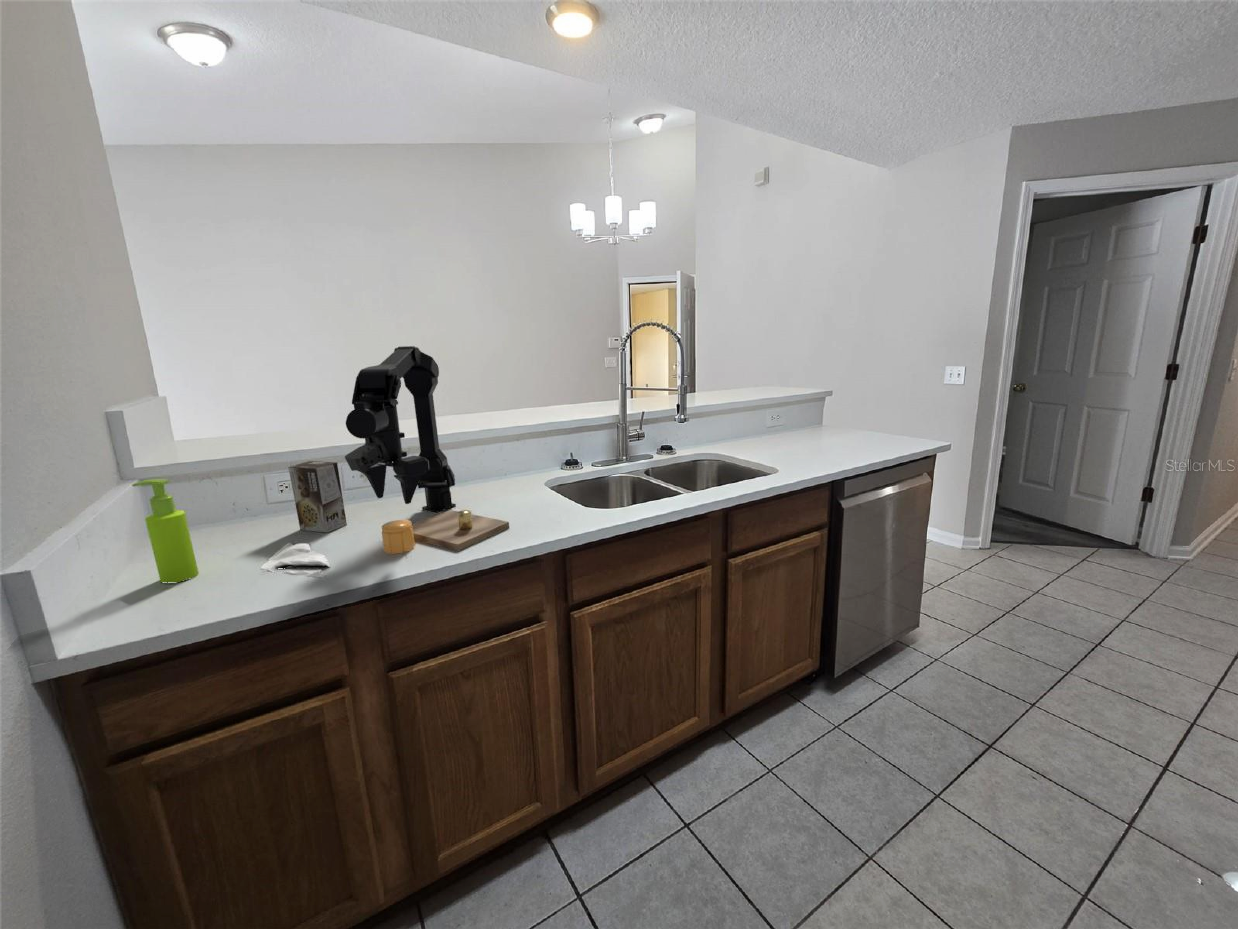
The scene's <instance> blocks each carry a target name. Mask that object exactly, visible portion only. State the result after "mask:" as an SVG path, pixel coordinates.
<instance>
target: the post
mask: <svg viewBox="0 0 1238 929" xmlns="http://www.w3.org/2000/svg"><path fill="white" fill-rule="evenodd" d="M471 514H472V511H471V510H470V509H461V510H458V520H459V529H460V530H462V531H466V530H470V529H472V528H473V525H472V515H471Z"/></svg>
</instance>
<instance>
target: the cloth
mask: <svg viewBox="0 0 1238 929" xmlns="http://www.w3.org/2000/svg"><path fill="white" fill-rule="evenodd" d="M327 561H328V558H326V556H325V555H324V554H321V553H319V552H318V551H314V550H312V549H311V547H310V544H309V543H306V542H305V543H304V542H303V543H295V544H292V543H291V542H288V543H286V544H285V545H283V546H282V548H280V549H279V550H277V551H276V552H275V553H274V554H273V556H271V557H269V558H268V559H267V561H266V562H265V563H264V564H263V565H261V566H260V570H261V569H266V572H270V573H278V572H281V574H284V575H285V574H286V575H296V576H306V577H313V576H314V577H315V576H317V578H324V576H323V575H322V574H321V572H322V568H323V567H325V566H327V567H328V568H331V566H329V565H330V563H329V561H328V562H327ZM314 566H315V567H314ZM319 566H320V567H319ZM267 568H268V569H267ZM278 568H283V569H278ZM284 568H285V569H284Z"/></svg>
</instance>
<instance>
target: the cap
mask: <svg viewBox="0 0 1238 929" xmlns="http://www.w3.org/2000/svg"><path fill="white" fill-rule="evenodd" d="M412 524H413V523H412V521H411V520H408V519H398V520H397V519H396V520H391V521H388V522H385V523H383V524H382V526H381V530H382V531H381V536H382V544H383V545H382V546H383V550H384V553H387V554H390V555H392V554H402V553H403V554H404V553H406V552H410V551H411V550H414V549H415V546H416V543H415V540H414V534H413V526H412ZM414 545H415V546H414Z"/></svg>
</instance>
